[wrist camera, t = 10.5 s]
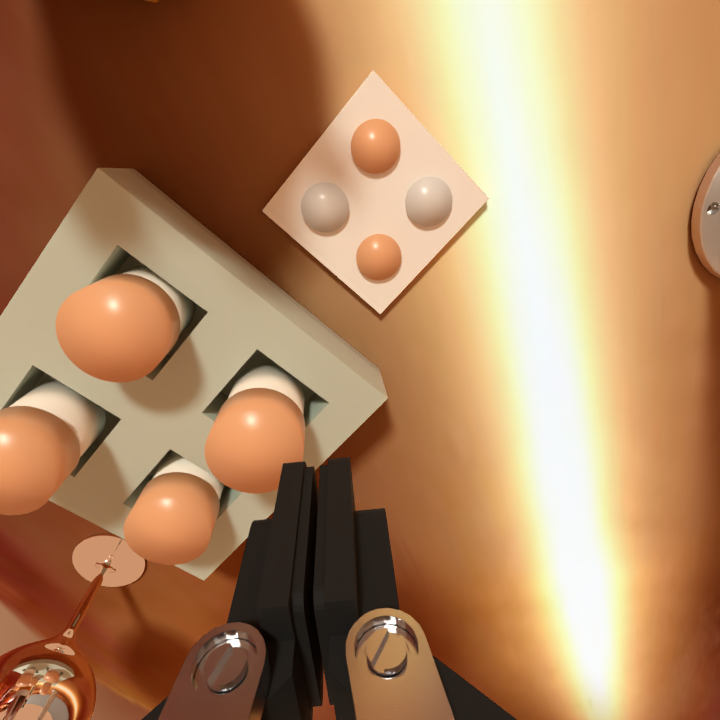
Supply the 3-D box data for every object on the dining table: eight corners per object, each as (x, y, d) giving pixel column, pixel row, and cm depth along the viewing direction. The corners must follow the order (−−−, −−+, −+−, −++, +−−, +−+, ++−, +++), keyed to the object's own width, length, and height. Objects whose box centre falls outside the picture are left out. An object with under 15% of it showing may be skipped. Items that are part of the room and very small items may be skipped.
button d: (124, 408, 31) (72, 469, 25) (83, 459, 33) (24, 530, 26) (48, 361, 30) (-28, 414, 23) (8, 417, 31) (-75, 481, 24)
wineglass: (79, 596, 42) (-77, 865, 26) (49, 531, 39) (-151, 792, 23) (165, 585, 43) (65, 845, 26) (142, 520, 40) (12, 770, 23)
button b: (213, 298, 31) (184, 331, 24) (168, 354, 32) (129, 400, 26) (141, 243, 29) (89, 263, 23) (96, 305, 30) (35, 341, 24)
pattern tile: (486, 198, 31) (490, 198, 30) (379, 311, 34) (380, 315, 33) (372, 72, 28) (373, 69, 27) (262, 210, 30) (261, 211, 29)
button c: (244, 465, 36) (227, 528, 30) (204, 507, 38) (179, 576, 31) (185, 428, 35) (153, 486, 28) (145, 473, 36) (106, 539, 29)
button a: (323, 393, 32) (323, 448, 26) (275, 443, 33) (263, 508, 27) (261, 346, 30) (244, 393, 24) (212, 402, 32) (184, 460, 25)
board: (379, 369, 36) (387, 398, 31) (217, 534, 41) (203, 580, 36) (133, 168, 29) (97, 167, 24) (-23, 399, 34) (-77, 434, 29)
